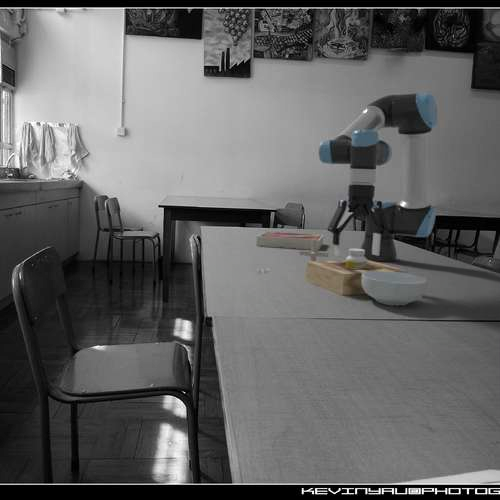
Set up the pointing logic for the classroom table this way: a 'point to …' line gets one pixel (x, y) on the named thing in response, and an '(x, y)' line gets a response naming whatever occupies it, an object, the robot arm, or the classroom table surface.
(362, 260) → the pill bottle
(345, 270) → the seat board
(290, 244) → the product packaging
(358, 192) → the robot arm
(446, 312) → the classroom table surface
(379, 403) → the classroom table surface
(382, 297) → the cereal bowl
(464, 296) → the classroom table surface
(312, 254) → the pipe connector
